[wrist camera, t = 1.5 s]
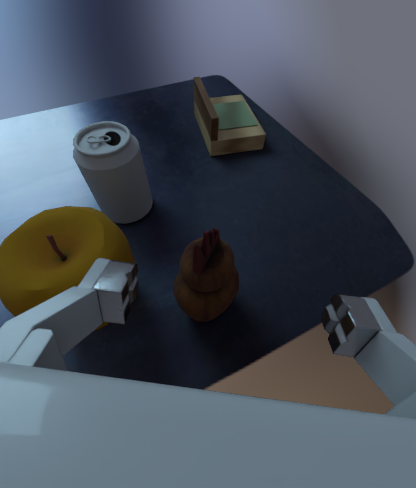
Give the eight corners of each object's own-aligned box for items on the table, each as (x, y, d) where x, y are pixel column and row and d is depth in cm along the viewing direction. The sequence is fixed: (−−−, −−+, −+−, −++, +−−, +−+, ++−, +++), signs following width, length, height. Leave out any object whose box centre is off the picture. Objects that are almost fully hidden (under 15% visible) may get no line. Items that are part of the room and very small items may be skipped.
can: (160, 216, 37) (144, 145, 26) (110, 234, 35) (72, 165, 25) (144, 184, 40) (125, 110, 30) (98, 198, 38) (61, 125, 28)
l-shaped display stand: (239, 109, 53) (244, 72, 47) (262, 149, 46) (271, 111, 40) (194, 114, 52) (193, 77, 46) (210, 156, 44) (211, 118, 38)
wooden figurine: (201, 339, 27) (199, 284, 15) (168, 302, 29) (143, 226, 17) (243, 300, 30) (272, 224, 17) (210, 268, 32) (215, 180, 19)
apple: (141, 349, 27) (99, 311, 16) (39, 349, 26) (-73, 310, 16) (153, 259, 33) (129, 188, 22) (70, 259, 32) (5, 186, 22)
